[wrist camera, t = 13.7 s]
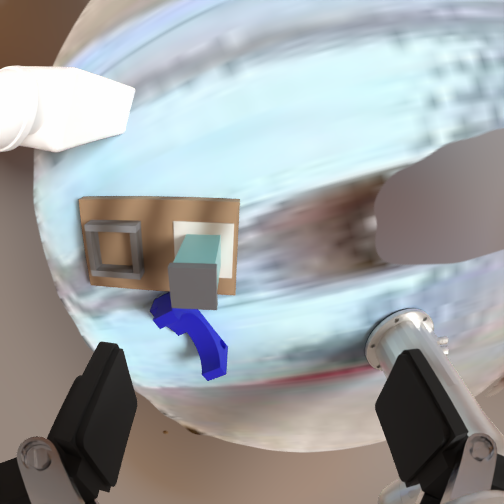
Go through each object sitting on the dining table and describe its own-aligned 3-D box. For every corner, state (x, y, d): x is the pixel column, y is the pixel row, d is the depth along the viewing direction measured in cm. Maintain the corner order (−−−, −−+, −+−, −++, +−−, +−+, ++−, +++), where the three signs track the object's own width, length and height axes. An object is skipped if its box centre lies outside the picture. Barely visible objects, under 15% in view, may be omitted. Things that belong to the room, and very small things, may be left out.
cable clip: (154, 298, 41) (143, 324, 36) (180, 285, 40) (171, 310, 35) (203, 356, 46) (199, 384, 40) (227, 345, 45) (226, 374, 39)
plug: (222, 233, 36) (216, 268, 27) (222, 267, 37) (216, 310, 29) (184, 232, 35) (167, 267, 27) (186, 266, 37) (171, 308, 29)
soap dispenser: (141, 85, 30) (19, 55, 10) (127, 138, 32) (-1, 171, 12) (93, 79, 29) (-42, 62, 9) (81, 130, 31) (-56, 159, 11)
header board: (239, 199, 36) (239, 207, 33) (235, 289, 41) (234, 303, 37) (84, 196, 35) (71, 203, 32) (95, 279, 40) (85, 292, 36)
